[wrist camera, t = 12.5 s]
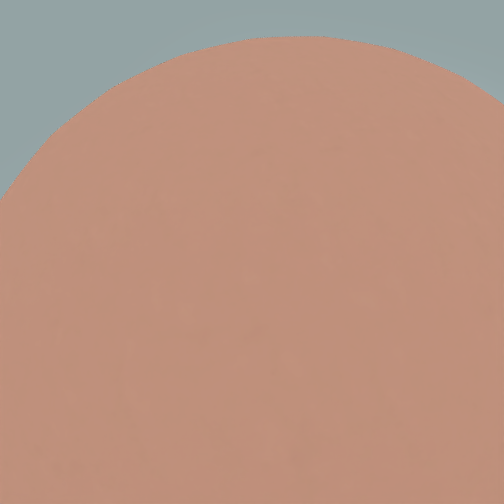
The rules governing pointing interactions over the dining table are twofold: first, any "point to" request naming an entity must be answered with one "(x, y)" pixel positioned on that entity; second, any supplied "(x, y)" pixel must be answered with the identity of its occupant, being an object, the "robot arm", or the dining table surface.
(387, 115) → the coffee jar
